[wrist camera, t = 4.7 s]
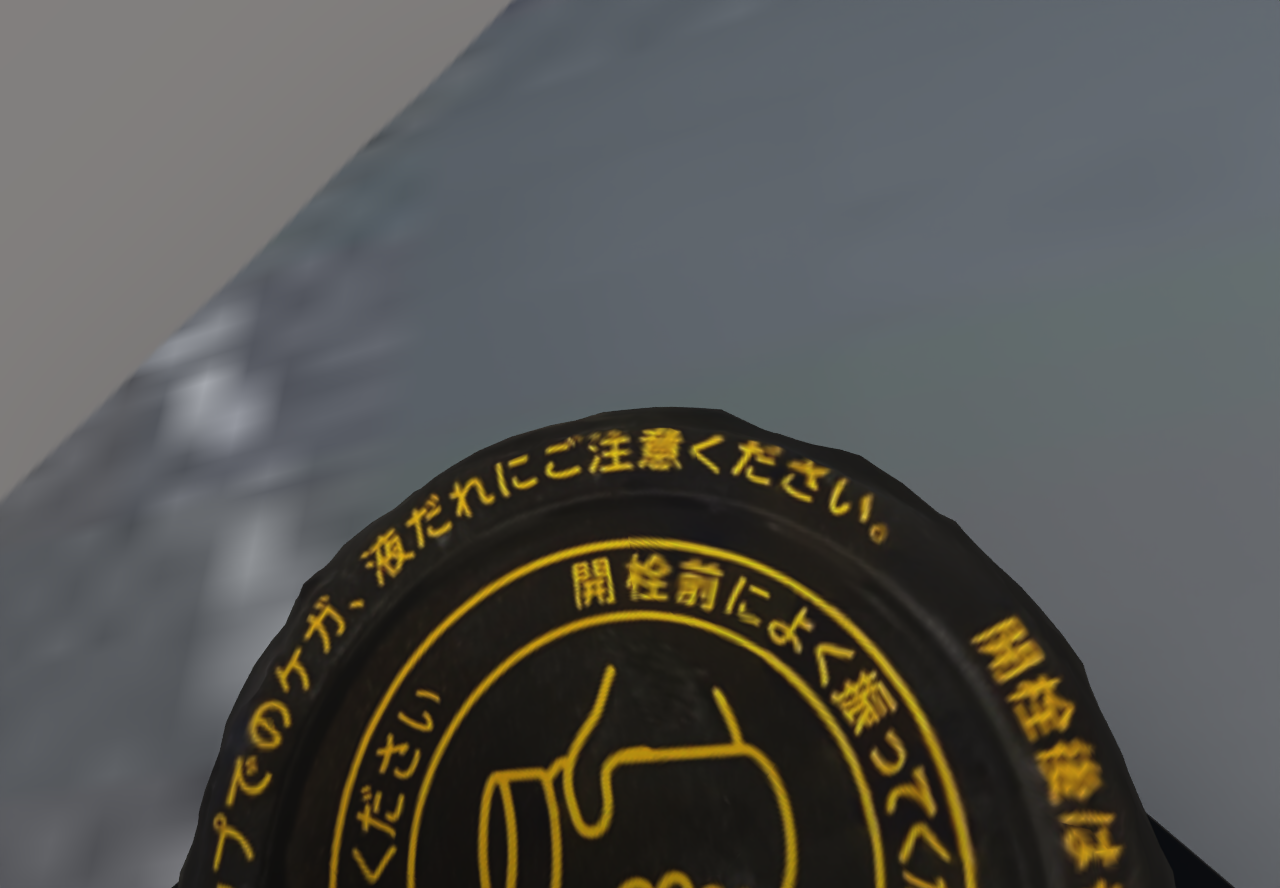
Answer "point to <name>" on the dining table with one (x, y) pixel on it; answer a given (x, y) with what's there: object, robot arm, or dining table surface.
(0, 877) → the dining table surface
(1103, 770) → the condiment
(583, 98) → the dining table surface
